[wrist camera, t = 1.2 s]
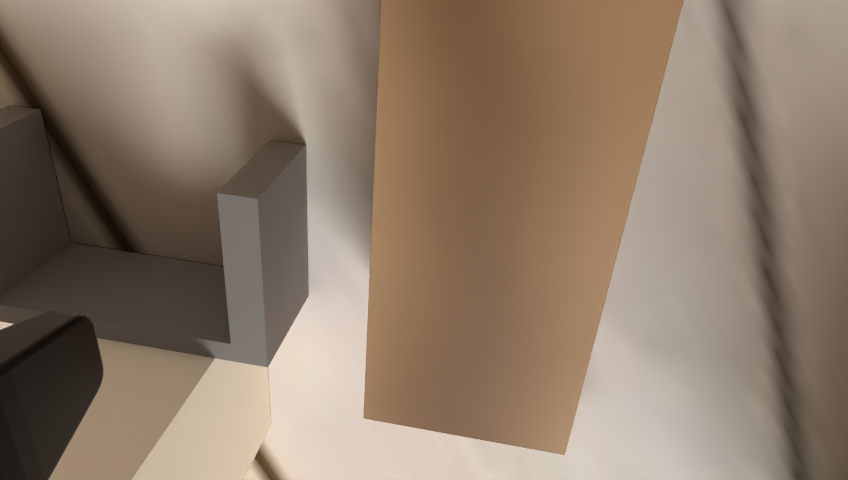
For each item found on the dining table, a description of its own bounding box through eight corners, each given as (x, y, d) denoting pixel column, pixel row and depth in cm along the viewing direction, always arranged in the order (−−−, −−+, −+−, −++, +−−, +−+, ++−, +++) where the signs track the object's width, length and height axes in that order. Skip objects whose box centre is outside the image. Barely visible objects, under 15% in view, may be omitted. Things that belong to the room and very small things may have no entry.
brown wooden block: (686, -221, 13) (753, -268, 9) (561, 330, 20) (564, 454, 16) (442, -240, 14) (393, -290, 9) (402, 304, 21) (363, 418, 16)
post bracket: (305, 145, 18) (89, 388, 10) (310, 431, 24) (175, 748, 15) (9, 105, 19) (-430, 293, 11) (80, 389, 25) (-170, 665, 16)
